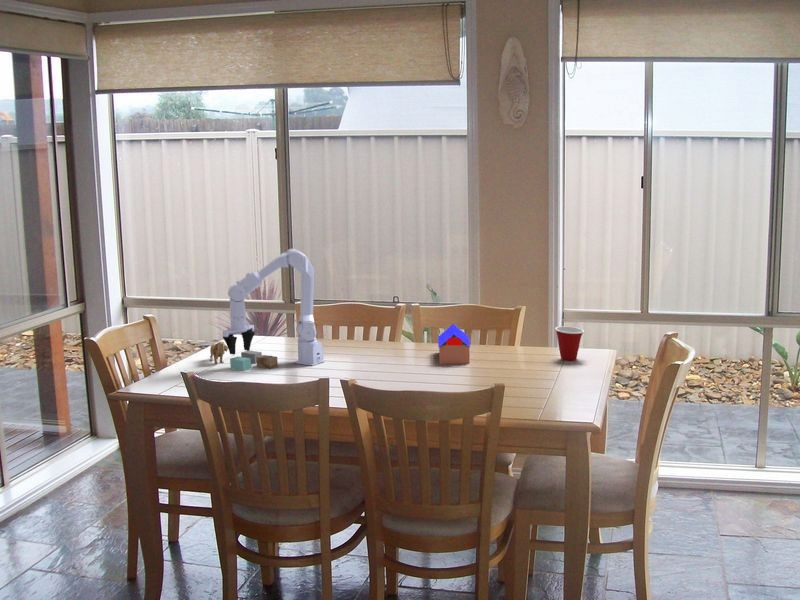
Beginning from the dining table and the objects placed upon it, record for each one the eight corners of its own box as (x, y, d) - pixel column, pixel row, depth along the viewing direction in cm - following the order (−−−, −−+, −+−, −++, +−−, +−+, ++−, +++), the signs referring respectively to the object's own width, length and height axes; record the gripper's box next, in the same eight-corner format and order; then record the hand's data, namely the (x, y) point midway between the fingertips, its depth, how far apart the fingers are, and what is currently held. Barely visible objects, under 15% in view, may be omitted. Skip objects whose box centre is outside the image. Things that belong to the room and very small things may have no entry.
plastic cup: (581, 363, 333) (582, 331, 331) (552, 361, 336) (552, 330, 334) (585, 356, 343) (585, 326, 341) (557, 355, 346) (557, 325, 345)
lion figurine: (230, 364, 345) (229, 341, 344) (217, 366, 342) (216, 343, 341) (216, 357, 357) (214, 335, 356) (203, 359, 354) (202, 337, 353)
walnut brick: (277, 367, 340) (277, 356, 339) (270, 369, 336) (270, 359, 336) (263, 365, 343) (263, 354, 343) (256, 367, 340) (256, 357, 339)
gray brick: (262, 362, 348) (261, 352, 348) (255, 364, 345) (254, 354, 344) (248, 360, 352) (248, 350, 351) (241, 362, 349) (241, 352, 348)
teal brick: (251, 368, 338) (250, 358, 337) (243, 371, 334) (242, 360, 334) (238, 366, 342) (237, 356, 341) (230, 368, 339) (229, 358, 338)
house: (438, 364, 337) (438, 334, 335) (438, 352, 357) (438, 324, 355) (470, 364, 337) (470, 333, 335) (468, 352, 356) (468, 323, 354)
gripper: (244, 312, 343) (245, 347, 345) (216, 318, 331) (218, 354, 333) (257, 314, 339) (259, 349, 341) (229, 320, 327) (231, 356, 329)
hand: (239, 352), depth 337 cm, fingers open, 7 cm apart
